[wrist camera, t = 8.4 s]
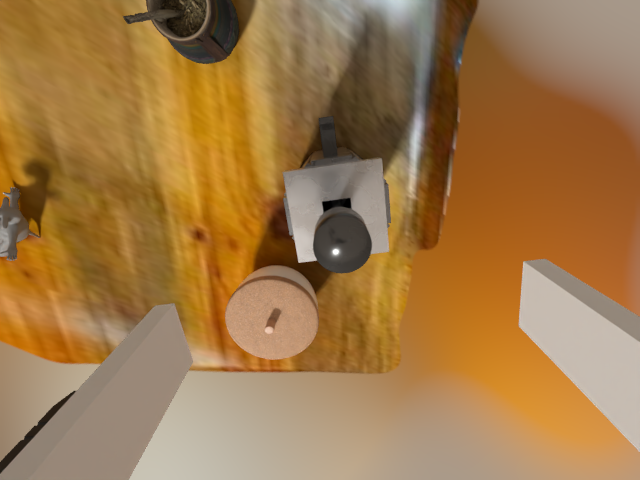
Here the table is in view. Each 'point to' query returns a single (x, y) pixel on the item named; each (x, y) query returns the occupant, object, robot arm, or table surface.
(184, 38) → the mate gourd
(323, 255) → the plunger
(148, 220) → the table surface
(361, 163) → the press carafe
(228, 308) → the lidded jar
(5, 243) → the grey animal figurine
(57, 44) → the table surface
